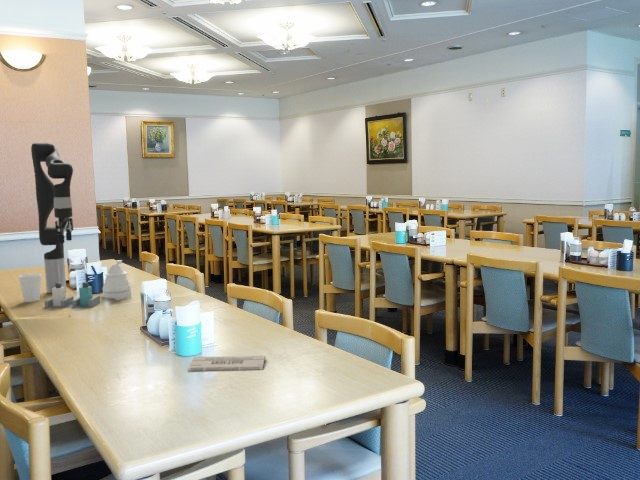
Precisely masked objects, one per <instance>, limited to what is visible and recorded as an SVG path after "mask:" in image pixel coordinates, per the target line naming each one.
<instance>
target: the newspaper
mask: <svg viewBox="0 0 640 480" xmlns="http://www.w3.org/2000/svg"><path fill="white" fill-rule="evenodd" d="M265 360H266V355H242V356H241V355H240V356H239V355H237V356H193V358H192V359H191V362H190V364H189V366H188V368H187V373H188V372H189V373H190V372H192V373H193V372H194V373H195V372H220V371H221V372H228V371H232V372H235V371H262V370H263V369H264V363H265Z"/></svg>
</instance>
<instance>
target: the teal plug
mask: <svg viewBox="0 0 640 480" xmlns="http://www.w3.org/2000/svg"><path fill="white" fill-rule="evenodd" d="M92 287H93V286H91V285H89V282H88V281H85V282H84V281H83V282H82V285H81V286H80V287H79V289H78V291H79V297H80V306H88V300H89V299H91V298H93V288H92Z"/></svg>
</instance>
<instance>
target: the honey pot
mask: <svg viewBox="0 0 640 480" xmlns="http://www.w3.org/2000/svg"><path fill="white" fill-rule="evenodd" d="M122 263H123V259H119V260H116V263H115V262H114V263H112V264H111V266H110V267H109V268H108V271H107V272H106V273H105V279H104V283H103V286H102V297H103V298H105V299H111V301H120V300H121V301H122V300H126V299H130V298H131V297H132V289H131V287H132V286H131V284H130V282H129V279H128V278H127V275H128V272H127V271H125V270H124V269H123V268H122V266H121V264H122Z"/></svg>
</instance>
